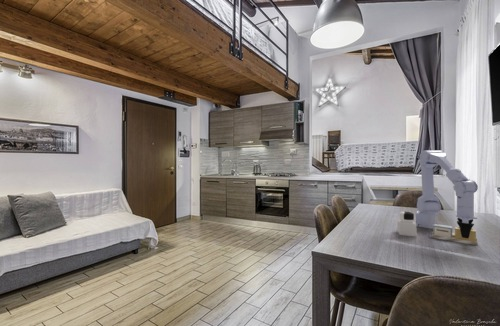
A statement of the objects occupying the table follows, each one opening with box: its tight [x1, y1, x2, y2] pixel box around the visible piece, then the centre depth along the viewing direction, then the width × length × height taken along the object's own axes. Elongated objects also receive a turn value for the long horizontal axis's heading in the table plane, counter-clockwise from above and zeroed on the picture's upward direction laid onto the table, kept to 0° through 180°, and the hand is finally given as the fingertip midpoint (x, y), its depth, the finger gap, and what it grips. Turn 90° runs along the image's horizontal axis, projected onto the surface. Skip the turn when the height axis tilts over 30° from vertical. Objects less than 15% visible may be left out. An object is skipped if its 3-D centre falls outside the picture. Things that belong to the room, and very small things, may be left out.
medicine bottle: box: [396, 211, 417, 237], centre depth 118 cm, size 7×7×12 cm
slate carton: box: [432, 224, 453, 238], centre depth 113 cm, size 7×4×6 cm, turn 48°
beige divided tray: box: [431, 231, 479, 246], centre depth 114 cm, size 16×18×2 cm
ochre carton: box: [454, 226, 477, 242], centre depth 107 cm, size 7×4×6 cm, turn 47°
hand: (465, 235), depth 107 cm, fingers open, 7 cm apart
